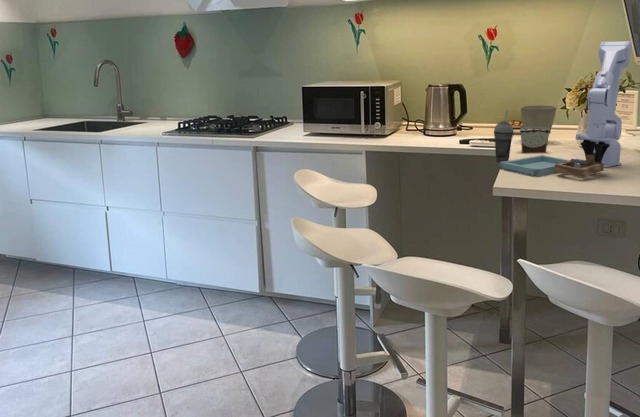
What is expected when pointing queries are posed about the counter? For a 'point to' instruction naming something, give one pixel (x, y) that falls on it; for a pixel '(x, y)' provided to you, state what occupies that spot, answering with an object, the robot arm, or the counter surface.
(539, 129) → the food container
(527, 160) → the tray
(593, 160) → the frame
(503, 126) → the beverage cup
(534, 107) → the plant pot
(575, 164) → the stake
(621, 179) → the counter surface
